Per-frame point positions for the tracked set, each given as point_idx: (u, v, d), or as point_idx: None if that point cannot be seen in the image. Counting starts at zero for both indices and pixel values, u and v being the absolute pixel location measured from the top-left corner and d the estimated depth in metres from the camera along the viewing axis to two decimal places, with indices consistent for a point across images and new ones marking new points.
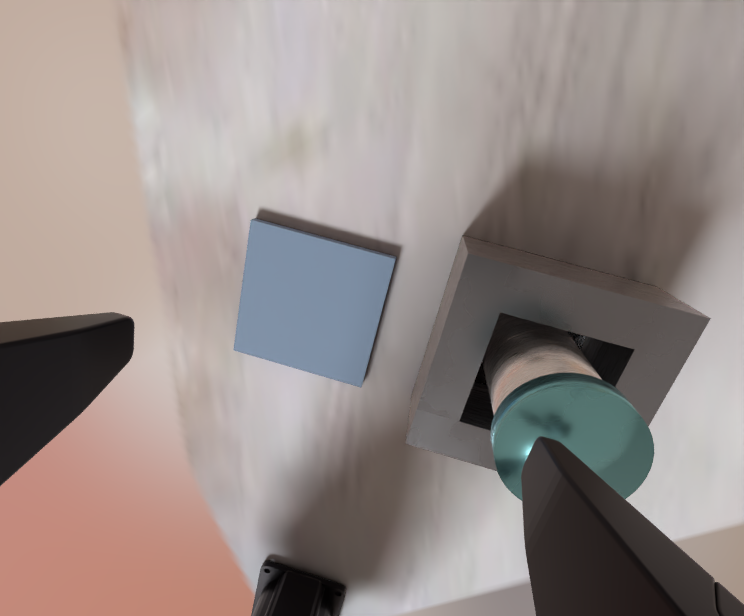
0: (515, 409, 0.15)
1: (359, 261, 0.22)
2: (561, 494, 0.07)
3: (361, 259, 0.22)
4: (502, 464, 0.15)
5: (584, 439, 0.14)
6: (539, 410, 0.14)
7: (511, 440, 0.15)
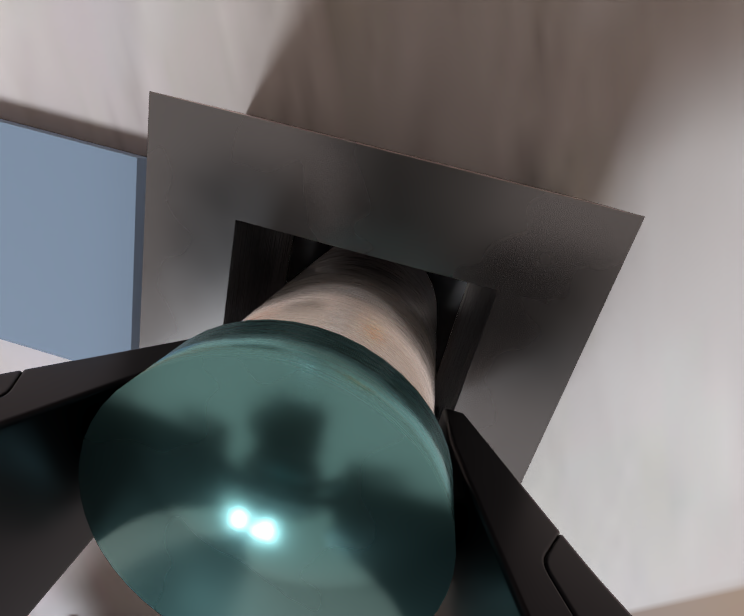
0: (99, 413, 0.05)
1: (83, 164, 0.13)
2: None
3: (86, 160, 0.13)
4: (115, 548, 0.06)
5: (277, 492, 0.05)
6: (147, 416, 0.05)
7: (112, 492, 0.06)
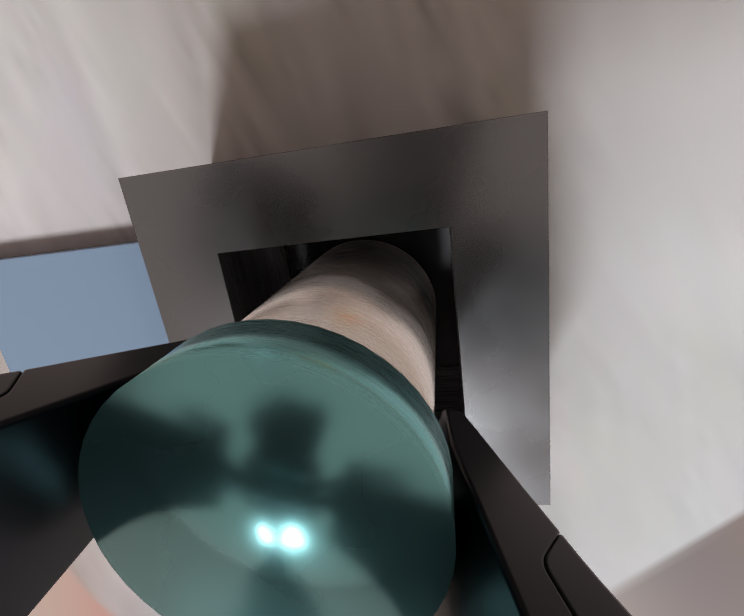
0: (100, 413, 0.05)
1: (102, 264, 0.16)
2: None
3: (104, 260, 0.16)
4: (114, 548, 0.06)
5: (277, 492, 0.05)
6: (147, 415, 0.05)
7: (112, 492, 0.06)
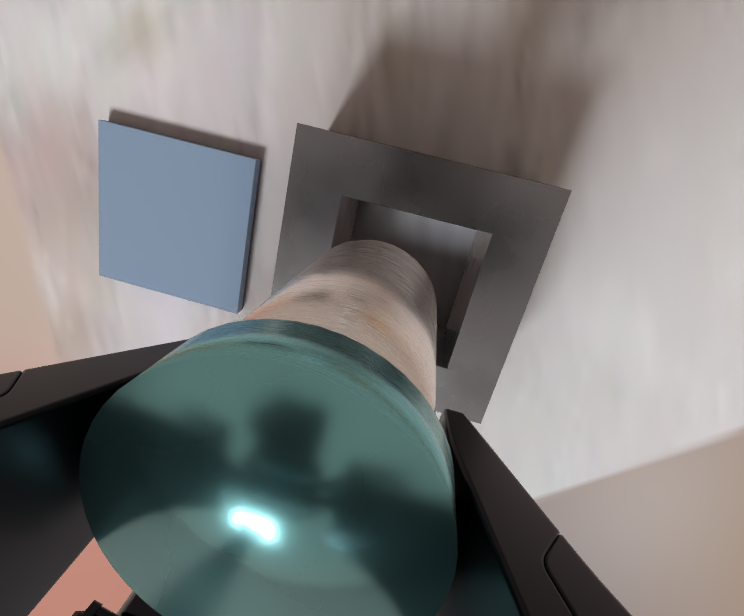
0: (100, 412, 0.05)
1: (218, 164, 0.20)
2: None
3: (220, 161, 0.20)
4: (115, 548, 0.06)
5: (278, 492, 0.05)
6: (148, 415, 0.05)
7: (112, 492, 0.06)
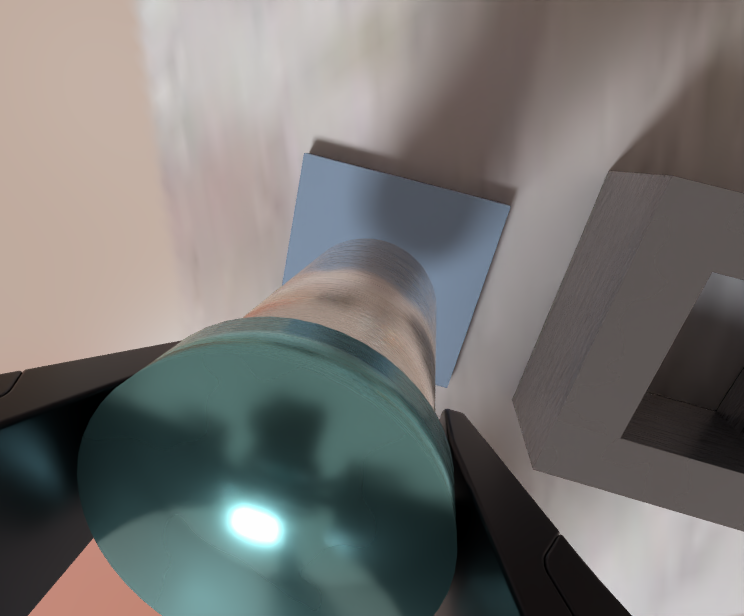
0: None
1: (457, 210, 0.16)
2: None
3: (461, 207, 0.16)
4: (114, 547, 0.06)
5: (276, 491, 0.05)
6: (146, 413, 0.05)
7: (111, 490, 0.06)
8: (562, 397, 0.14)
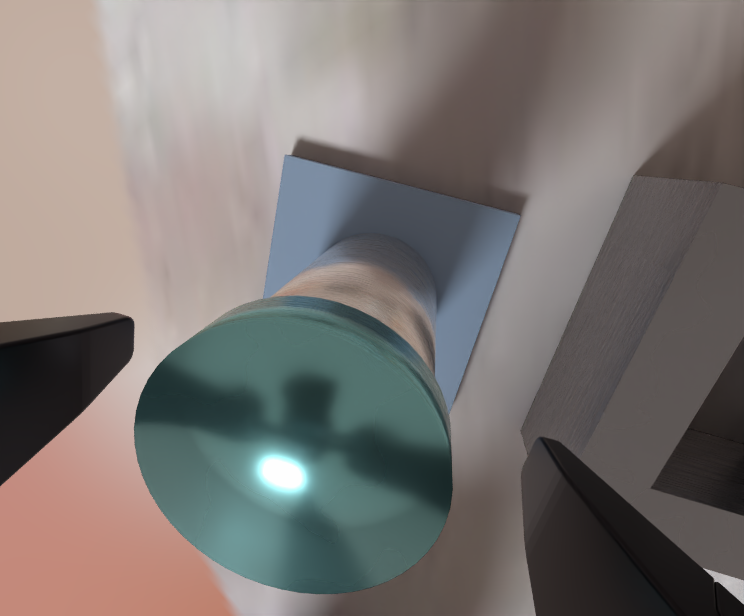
0: None
1: (459, 220, 0.14)
2: (561, 494, 0.07)
3: (464, 217, 0.14)
4: (162, 491, 0.07)
5: (303, 438, 0.06)
6: (196, 373, 0.06)
7: (162, 441, 0.07)
8: (582, 440, 0.12)
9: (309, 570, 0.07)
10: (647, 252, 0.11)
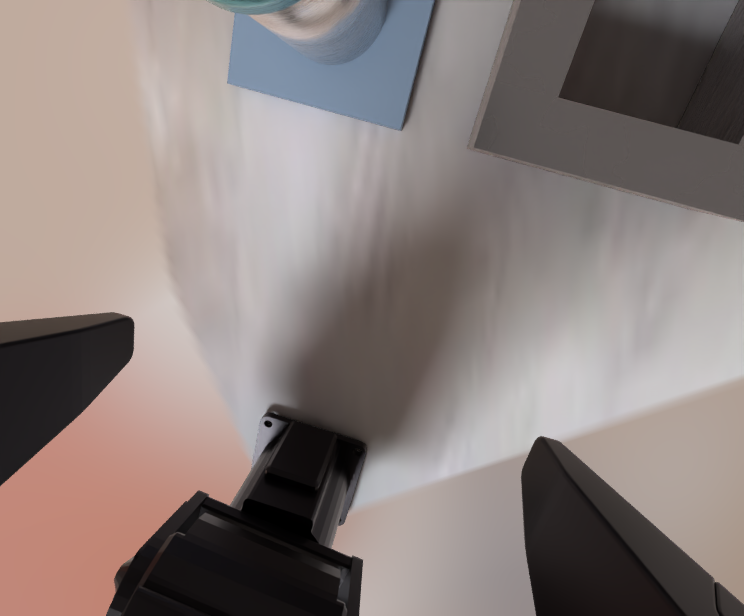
0: None
1: None
2: (561, 494, 0.07)
3: None
4: None
5: None
6: None
7: None
8: (501, 58, 0.14)
9: None
10: None
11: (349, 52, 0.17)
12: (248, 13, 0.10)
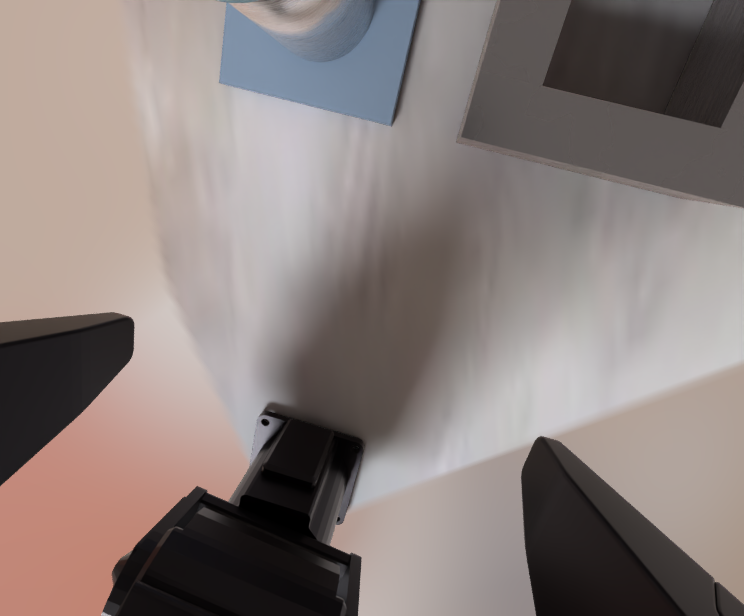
0: None
1: None
2: (561, 494, 0.07)
3: None
4: None
5: None
6: None
7: None
8: (486, 49, 0.14)
9: None
10: None
11: (338, 48, 0.17)
12: (235, 1, 0.11)
